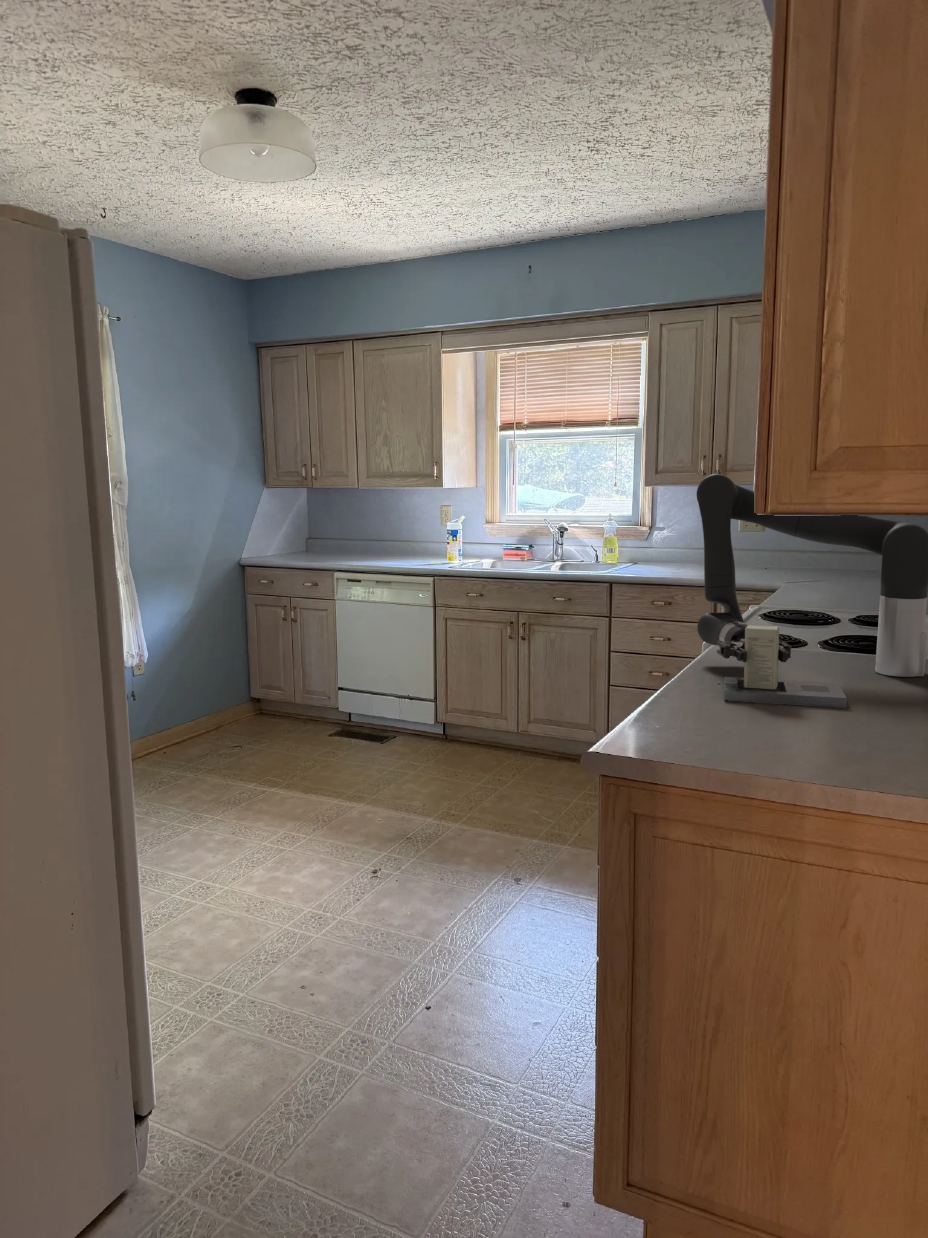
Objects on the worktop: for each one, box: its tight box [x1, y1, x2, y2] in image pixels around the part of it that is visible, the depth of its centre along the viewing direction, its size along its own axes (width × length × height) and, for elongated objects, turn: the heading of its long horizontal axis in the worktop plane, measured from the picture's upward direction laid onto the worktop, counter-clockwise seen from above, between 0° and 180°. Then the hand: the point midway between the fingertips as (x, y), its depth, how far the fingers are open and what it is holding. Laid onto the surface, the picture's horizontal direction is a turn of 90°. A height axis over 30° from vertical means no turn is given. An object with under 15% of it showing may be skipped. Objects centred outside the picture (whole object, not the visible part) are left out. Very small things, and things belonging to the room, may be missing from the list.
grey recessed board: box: [723, 676, 848, 709], centre depth 168 cm, size 22×13×2 cm, turn 73°
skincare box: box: [743, 624, 780, 689], centre depth 168 cm, size 6×4×12 cm
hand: (765, 657), depth 166 cm, fingers closed on skincare box, 7 cm apart
